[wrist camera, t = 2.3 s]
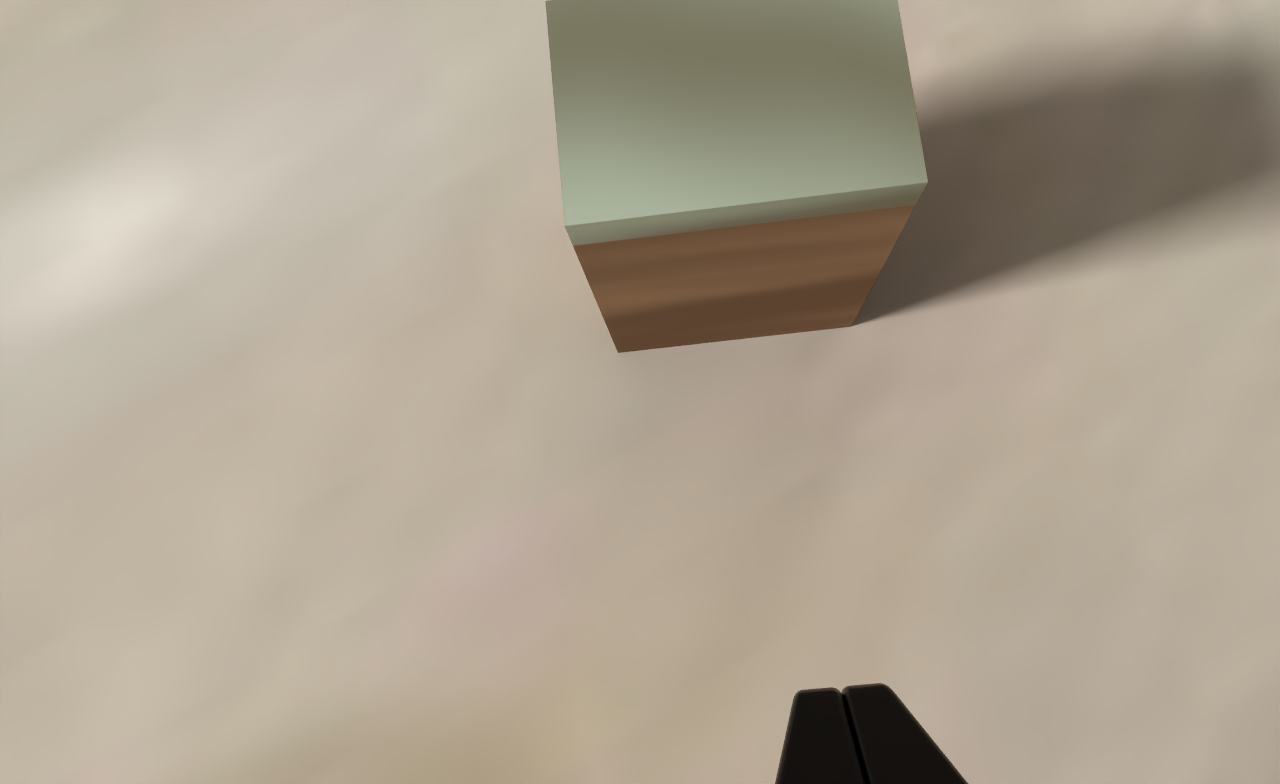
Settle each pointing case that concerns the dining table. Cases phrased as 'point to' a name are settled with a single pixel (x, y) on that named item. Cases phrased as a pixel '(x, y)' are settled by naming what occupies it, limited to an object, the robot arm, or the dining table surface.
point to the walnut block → (732, 160)
